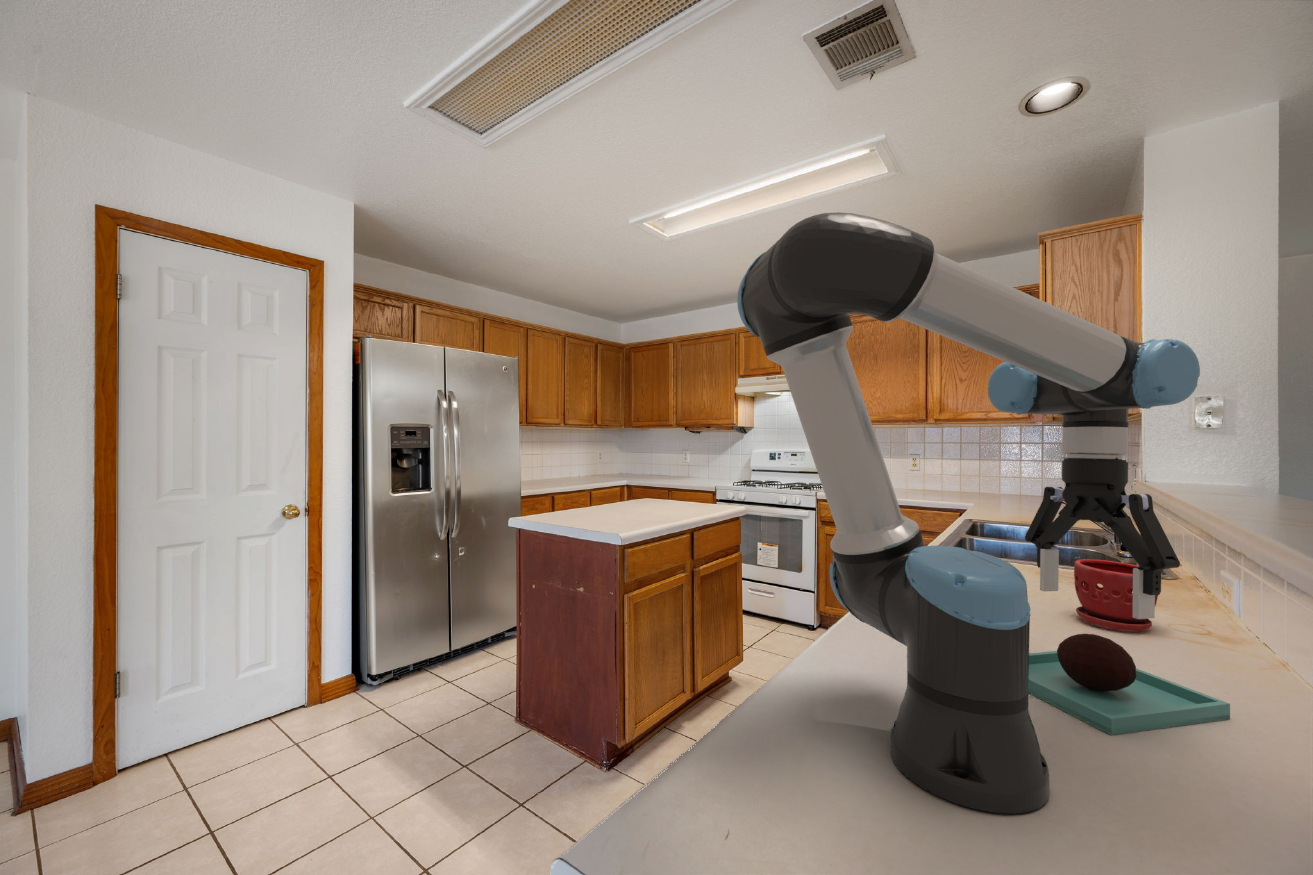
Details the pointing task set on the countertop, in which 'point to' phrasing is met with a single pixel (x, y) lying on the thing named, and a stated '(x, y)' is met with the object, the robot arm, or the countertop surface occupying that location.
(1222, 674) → the countertop surface
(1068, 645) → the dark brown oval
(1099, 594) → the plant pot
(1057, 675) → the teal tray
